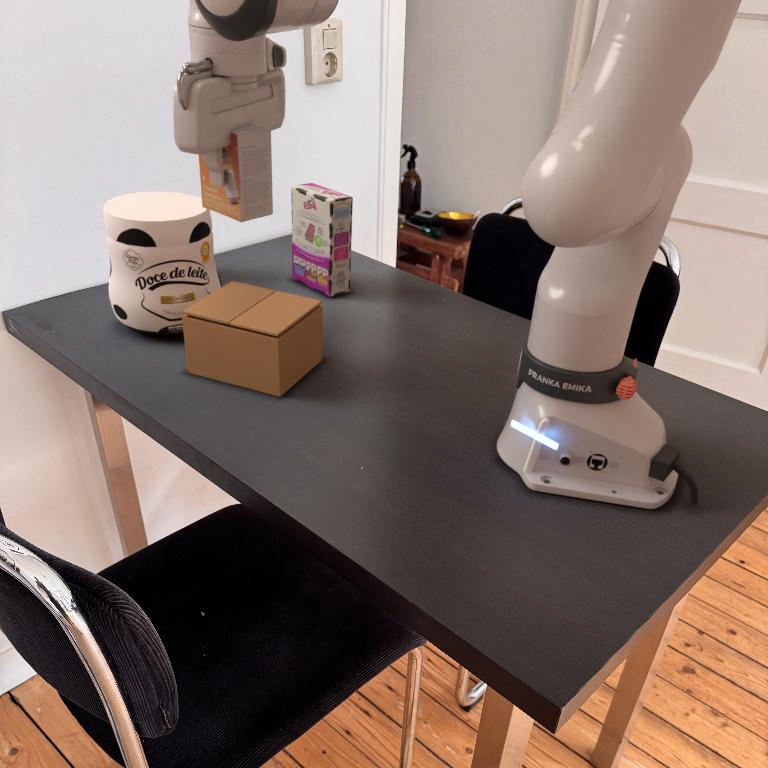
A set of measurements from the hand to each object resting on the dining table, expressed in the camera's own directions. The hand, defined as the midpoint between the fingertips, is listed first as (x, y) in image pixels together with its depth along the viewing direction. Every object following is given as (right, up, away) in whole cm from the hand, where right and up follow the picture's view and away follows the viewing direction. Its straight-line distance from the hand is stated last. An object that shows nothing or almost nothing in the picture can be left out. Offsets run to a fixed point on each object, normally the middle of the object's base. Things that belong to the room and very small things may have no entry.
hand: (236, 178), depth 101 cm
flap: (+4, -15, +8) cm, 18 cm away
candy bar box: (+8, -2, +41) cm, 42 cm away
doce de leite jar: (-15, -12, +25) cm, 32 cm away
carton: (0, -21, +14) cm, 26 cm away
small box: (0, -4, +3) cm, 4 cm away
